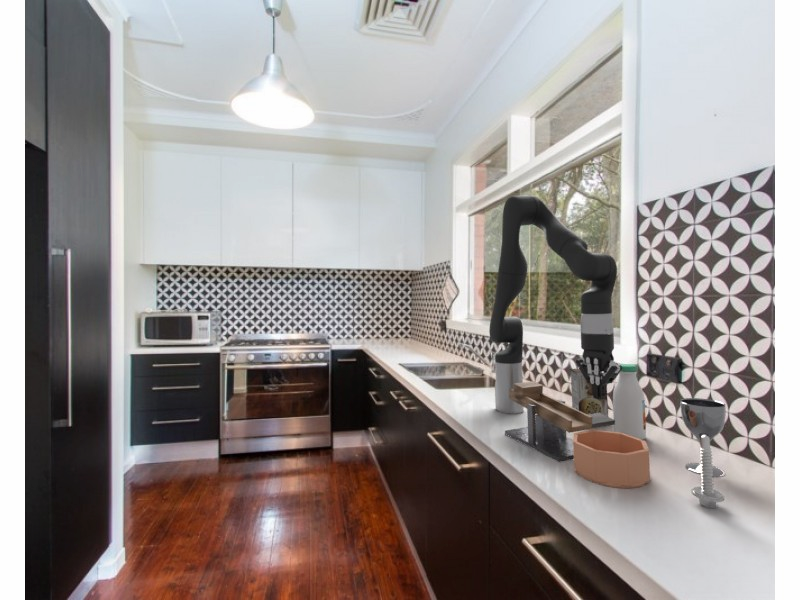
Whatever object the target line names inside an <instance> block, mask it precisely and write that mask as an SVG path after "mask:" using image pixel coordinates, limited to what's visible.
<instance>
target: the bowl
mask: <svg viewBox="0 0 800 600" xmlns="http://www.w3.org/2000/svg"><path fill="white" fill-rule="evenodd" d="M572 437H573V438H572V440H573V451H574V459H573V470H574V471H575V473H576V474H577V475H578V476H580V477H581V478H583V479H585V480H587V482H588V481H589V482H591V483H594V484H598V485H600V486H604V487H608V488H609V487H610V488H614V489H615V488H617V489H636V488H640V487H643V486H646V485H647V484H648V483H649V482H650V481H651V468H650V464H651V463H650V450H649V447H648V445H647V442H646V441H645V439H644V440H641V439H638V438H635V437H632V436H629V435H626V434H624V433H619V432H614V431H610V430H609V431H608V430H598V429H589V430H583V431H578V432H573V436H572Z"/></svg>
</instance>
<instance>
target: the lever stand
mask: <svg viewBox="0 0 800 600" xmlns="http://www.w3.org/2000/svg"><path fill="white" fill-rule="evenodd" d="M557 400H558V401H560V402H562V403H564V404H566V400H562V399H557ZM526 412H527V426H524V427H518V428H512V429H507V430H506V429H505V430H504V435H506V434H507V435H506V436H508V435H509V436H508V437H510V436H511V437H510V438H512V439H514V440H515V441H517V440H518V441H517V442H519V441H520V443H521V442H522V443H521V444H524V445H525V446H527V447H529V448H530V449H533V450H535V451H537V452H538V453H541V454H542V455H545V456H547V457H548V458H550V459H552V460H554V461H556V462H558V463H563V462H567V461H571V460H574V451H573V438H570V437H567V431H565V430H563V429H562V428H560V427H558V426H556V425H555V424H553V423H551V422H549V421H548V420H546V419H544V418H542V417H541V416H539V415H537V414H535V405H532V404H527V408H526Z"/></svg>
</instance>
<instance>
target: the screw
mask: <svg viewBox="0 0 800 600" xmlns="http://www.w3.org/2000/svg"><path fill="white" fill-rule="evenodd" d="M699 449H700V451H699V453H700V454H699V456H700V458H699V459H700V461H699V462H700V463H701V464H700V465H701V467H700V468H701V470H700V471H701V472H702V473H701V475H700V478H701V479H700V481H701V483H700V484H701V486H695V487H693V488H691V490H690V492H691V494H692V496H694V497H696V498H697V499H698V500H699V502H698V503H699V505H701V506H703V507H705V508H707V509H717V503H720V502H724V501H725V499H726V498H725V496H724V495H723V493H721V492H720V491H718V490H716V489H714V480H713V479H714V477H712V476H713V474H712V472H713V471H712V469H713V467H712V466H714V465H713V454H712V453H713V451H712V448H711V441H710V439H709V437H708V436H706V435H703V436H701V446H700V448H699Z"/></svg>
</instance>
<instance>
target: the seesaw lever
mask: <svg viewBox="0 0 800 600" xmlns="http://www.w3.org/2000/svg"><path fill="white" fill-rule="evenodd" d="M543 387H544V385H543V384H541V383H538V382H536V381H525V382H523V383H515V384H514V389H509V399H511V400H513V401H514V402H516V403H518V404H520V405H521V406H523V407H524V408H525V409H527V404H532V405H535V415H539V416H541V417H542V418H544V419H546V420H548V421H549V422H551V423H553V424H555V425H556V426H558V427H560V428H562V429H563V430H565V431H566V433H577V432H583V431H589V430H594V429H598V428H603V427H609V426H614V425H615V420H614V418H613V417H612V418H611V417H610V416H608V417H607V416H605V415H603V414H601V413H594V414H585V413H583V412H581V411H579V410H577V409H575V408H573V407H572V405H571V406H570V405H569V404H566V403H565V404H564V403H562V402H560V401H558V400H559V399H556V398H554V397H552V396H550V395H547V394H545V393H543V391H544V389H543Z"/></svg>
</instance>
